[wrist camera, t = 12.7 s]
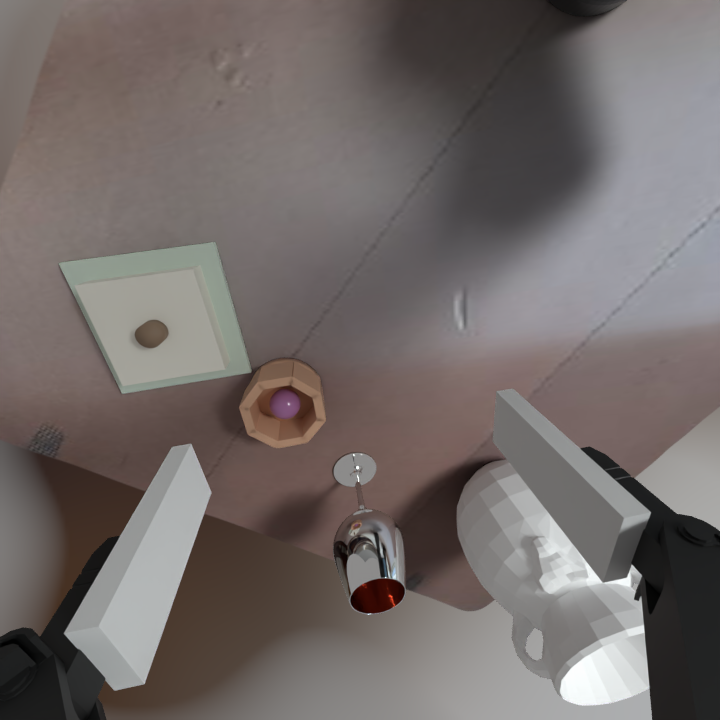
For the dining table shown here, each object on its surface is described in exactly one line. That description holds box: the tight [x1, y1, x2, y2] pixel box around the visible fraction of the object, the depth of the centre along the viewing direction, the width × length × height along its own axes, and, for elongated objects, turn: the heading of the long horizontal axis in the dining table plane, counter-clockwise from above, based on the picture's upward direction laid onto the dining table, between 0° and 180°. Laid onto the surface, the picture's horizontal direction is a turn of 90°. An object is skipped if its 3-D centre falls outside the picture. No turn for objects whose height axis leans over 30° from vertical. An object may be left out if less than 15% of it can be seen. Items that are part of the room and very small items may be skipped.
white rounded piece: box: [457, 460, 649, 705], centre depth 43 cm, size 19×18×25 cm
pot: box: [239, 358, 326, 448], centre depth 40 cm, size 9×9×6 cm
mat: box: [59, 242, 252, 394], centre depth 37 cm, size 15×15×1 cm
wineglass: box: [333, 452, 406, 614], centre depth 41 cm, size 8×8×18 cm
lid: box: [74, 265, 230, 386], centre depth 35 cm, size 11×11×4 cm
